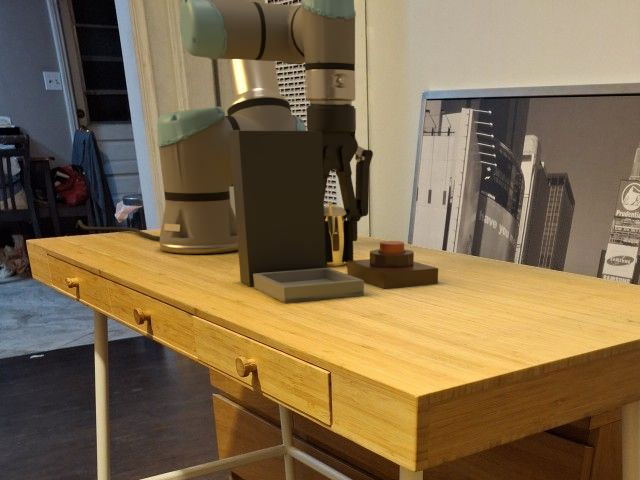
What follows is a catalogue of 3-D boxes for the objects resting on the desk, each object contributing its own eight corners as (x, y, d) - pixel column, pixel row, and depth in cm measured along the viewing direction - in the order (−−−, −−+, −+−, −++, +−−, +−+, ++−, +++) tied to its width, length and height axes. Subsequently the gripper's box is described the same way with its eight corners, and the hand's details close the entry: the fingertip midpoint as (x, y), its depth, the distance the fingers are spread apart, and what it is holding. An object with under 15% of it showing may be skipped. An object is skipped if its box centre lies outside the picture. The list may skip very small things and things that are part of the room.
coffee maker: (240, 282, 111) (228, 130, 102) (315, 275, 116) (310, 130, 107) (283, 303, 98) (274, 131, 89) (365, 295, 103) (364, 131, 94)
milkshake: (318, 267, 123) (315, 202, 119) (322, 262, 128) (319, 198, 123) (346, 267, 123) (344, 201, 118) (348, 262, 128) (346, 198, 123)
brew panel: (347, 275, 117) (346, 248, 115) (397, 271, 120) (398, 244, 119) (384, 288, 107) (384, 259, 105) (438, 283, 111) (439, 255, 109)
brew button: (375, 254, 113) (375, 241, 112) (396, 252, 114) (396, 240, 114) (387, 257, 110) (387, 244, 109) (408, 255, 112) (408, 243, 111)
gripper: (287, 102, 108) (295, 270, 119) (392, 104, 115) (390, 262, 126) (268, 103, 114) (277, 263, 125) (369, 105, 121) (369, 256, 132)
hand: (334, 263), depth 125 cm, fingers closed on milkshake, 4 cm apart
